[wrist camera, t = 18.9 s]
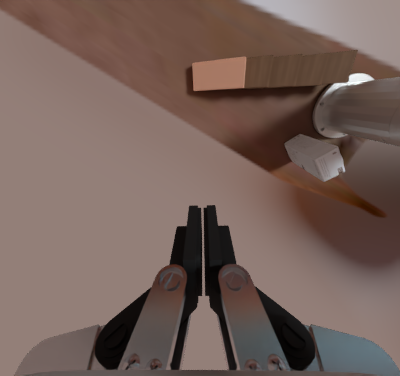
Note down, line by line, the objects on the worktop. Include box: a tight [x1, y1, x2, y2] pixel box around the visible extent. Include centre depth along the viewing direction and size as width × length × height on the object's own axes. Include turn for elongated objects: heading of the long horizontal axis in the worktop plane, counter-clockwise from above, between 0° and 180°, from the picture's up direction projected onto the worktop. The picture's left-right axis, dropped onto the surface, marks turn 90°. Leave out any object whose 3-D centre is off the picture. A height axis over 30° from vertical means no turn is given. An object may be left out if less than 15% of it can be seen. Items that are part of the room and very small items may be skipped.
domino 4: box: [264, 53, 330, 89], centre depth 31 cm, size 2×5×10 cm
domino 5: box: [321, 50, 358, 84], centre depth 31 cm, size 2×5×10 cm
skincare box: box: [284, 134, 345, 182], centre depth 35 cm, size 6×4×12 cm
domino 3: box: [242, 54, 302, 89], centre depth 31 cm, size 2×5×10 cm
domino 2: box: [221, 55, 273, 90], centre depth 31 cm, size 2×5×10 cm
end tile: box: [192, 56, 246, 91], centre depth 31 cm, size 2×5×10 cm
